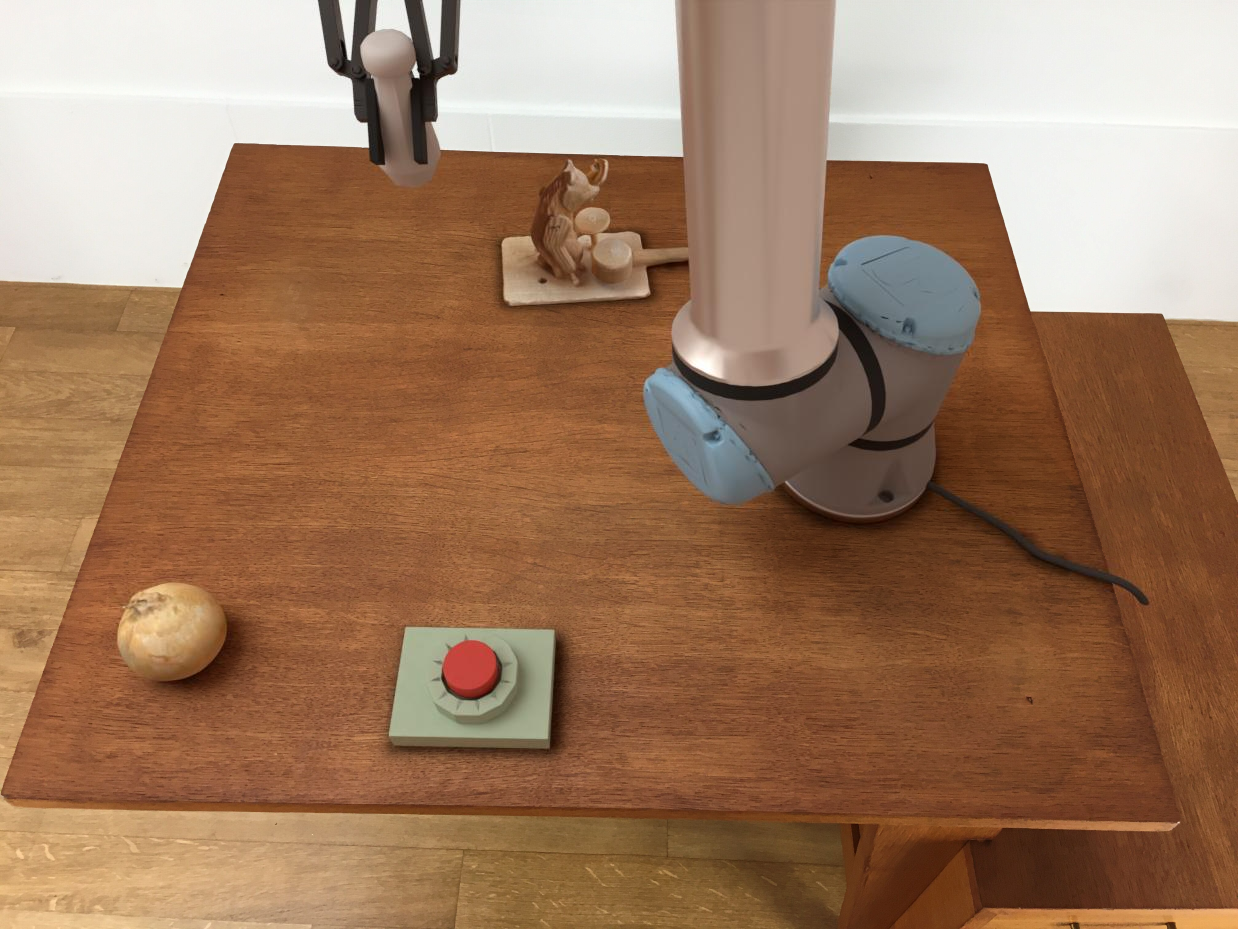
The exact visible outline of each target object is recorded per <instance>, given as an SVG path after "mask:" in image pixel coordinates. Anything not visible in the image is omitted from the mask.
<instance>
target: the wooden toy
mask: <svg viewBox="0 0 1238 929" xmlns="http://www.w3.org/2000/svg"><path fill="white" fill-rule="evenodd" d="M608 172H609V162H608V160H607V159H605V158H597V159H596V158H594V159H593V160H592V163H591V165H589V166H588V167H587V168H586V169H585V170H584V171H582V170H580V169H579V168H577V167H575V166H574V163H573V161H572V159H569V158H567V159H566V160H565V162H564V164H563V166H562V168H561V169H560V170H559V171H558V172H557V173H556V175H555V176H554V177H553V178H552V179H551V180H550V182H549V183H548V184H544V185H543V186H542V187H541V188H540V189H539V191H538V196H539V200H538V204H537V206H536V210H535V213H534V217H533V219H532V223H531V226H530V230H529V231H530V232H529V233H530V234H529V235H526V236H510V237H505V238H504V239H503V240H502V241H501V244H500V245H501V246H500V247H501V248H500V251H501V268H502V273H501V274H502V298H503V303H504V304H506V305H507V306H510V307H515V306H516V307H517V306H533V305H535V306H536V305H552V304H553V305H554V304H567V303H568V304H569V303H570V304H572V303H585V302H586V303H588V302H603V301H604V302H606V301H620V300H639V299H640V300H641V299H645V298H648V297H649V296H651V290H650V284H649V278H648V272H647V268H648V267H651V266H658V265H664V264H667V263H676V262H677V263H683V262H689V254H688V246H680V247H679V246H678V247H664V248H662V247H660V248H643V245H642V241H641V236H640V234H639V233H636V232H634V231H620V232H605V231H607V229H608V228H609V226H610V223H611V216H610V214H609V213H608V212H607V211H606V209H603V208H601V207H595V206H589V207H585V208H583V209H581V210H580V211H578V210H579V208H580V207H581V206H582V205H583V204H584V203H588V204H589V203H593V202H594V199H595V197H597V196H598V194H599V192H600V186H601V185H602V184H603V183H605V182H606V180H607V177H608V174H609V173H608ZM576 211H578V212H577V214H576V215H575V217H574V212H576Z"/></svg>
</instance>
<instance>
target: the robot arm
mask: <svg viewBox="0 0 1238 929" xmlns="http://www.w3.org/2000/svg"><path fill="white" fill-rule="evenodd" d="M378 1H379V0H355V3H354V14H353V15H354V16H353V27H352V28H353V29H352V41H351V42H352V43H351V52H350V53H351V54H350V59H349V56H348V50H347V45H346V39H345V38H346V37H345V32H344V24H343V19H342V12H341V6H340V5H341V4H340V0H317V4H318V10H319V11H318V12H319V17H320V24H321V31H322V37H323V44H324V49H325V55H326V62H327V65H328V67H329V68H330V69H331V70H332V71H333V72H334V73H335V74H336V75H338V76H340V77H345V78H347V79H350V81H351V85H352V86H351V87H352V100H353V114H354V116H355V118H356V121H357V122H359V123H360V124H367V138H368V141H367V142H368V156H369V162H370V163H372V164H374V165H375V166H378V165H385V151H384V145H383V140H382V134H381V127H380V120H379V113H378V106H377V100H376V93H375V84H374V78H372V75H371V74H370V73H369V72H368V71H367V70H366V69H365V67H364V64H363V61H362V57H361V47H360V46H361V44H362V42H363V41H364V39H365V38H366V37H367V36H368V35H369V34H371V33H373V32H374V31H376V25H377V24H376V23H377V13H378ZM403 1H404V7H405V11H406V17H407V22H408V26H409V33H410V36H411V37H410V38H411V40H412V43H413V45H414V49H415V54H416V63H415V64H416V71H417V73H418V77H415V78H411V81H412V88H411V89H410V100H411V118H412V136H413V154H414V161H415V162H417V163H418V164H419V165H427V164H428V155H427V135H426V127H425V122H431V123H436V122H437V120H438V117H439V110H438V109H439V106H438V105H439V104H438V82H439V81H440V80H441V79H442V78H444V77H447V76H452V75H453V76H454V75H456V73H457V72H458V69H459V52H460V51H459V49H460V27H461V25H460V24H461V3H462V1H461V0H441V9H440V36H439V56H438V57H436V58H434V53H433V47H432V43H431V37H430V32H429V27H428V22H427V16H426V10H425V7H424V2H423V0H403ZM836 10H837V0H674V13H675V27H676V28H675V29H676V30H675V32H676V45H677V46H676V49H677V50H676V51H677V66H678V67H677V68H678V70H677V71H678V86H679V103H680V104H679V107H680V122H681V125H680V126H681V142H682V159H683V180H684V196H685V212H686V213H685V214H686V217H685V218H686V232H687V234H686V235H687V247H688V254H689V261H688V270H689V288H690V289H689V292H690V299H689V300H688V301H687V302H686V303H684V304H683V306H682V307H681V308H680V309H679V310H678V312H677V314H676V315H675V317H674V319H673V321H672V325H671V330H670V331H671V332H670V333H671V337H670V338H671V351H672V352H671V353H672V362H671V364H669V365H668V366H666V367H658V368H657V369H656V370H655V371H654V373H653V374H651V375H650V376H649V377H647V378H646V380H645V382H644V384H643V388H642V389H643V390H642V396H643V402H644V407H645V409H646V413H647V416H648V419H649V421H650V423H651V426H652V428H653V430H654V432H655V434H656V435H657V437H658V439H659V441H660V442H661V444H662V446H663V448H664V449H665V451H666V453H667V454H668V456H669V457H670V459H671V460H672V461H673V463H674V464H675V465H676V467H677V468H678V469H679V471H680V472H681V473H682V475H684V476H685V477H686V479H687V480H688V482H690V483H691V484H692V485H693V486H694V487H695V488H696V489H697V490H698V491H699V492H700V493H702V494H703V495H704V496H705V497H707V498H709V499H710V500H712V501H714V502H716V503H717V504H721V505H724V506H739V505H742V504H745V503H747V502H749V501H751V500H752V499H755V498H757V497H759V496H761V495H762V494H763V495H764V494H770V493H772V492H773V491H775V489H776V488H777V487H778V486H780V487H781V488H782V489H783V490H784V491H785V493H786V494H788V496H789V497H791V498H792V499H793V500H794V501H795V502H797V504H799V505H801V506H802V507H804V508H805V509H807V510H809V511H811V512H813V513H814V514H816V515H819V516H822V517H824V518H827V519H830V520H833V521H838V522H842V523H850V524H871V523H878V522H882V521H883V522H884V521H886V520H889V519H892V518H895V517H897V516H899V515H901V514H903V513H904V512H906V511H907V510H910V508H912V507H913V506H914V505H915V504H916V503H917V502H919V500H920V499H921V497H922V496H923V494H924V493H925V491H926V489H927V490H929V491H930V492H933V493H935V494H936V495H938V496H940V497H942V498H944V499H945V500H946V501H949V502H951V503H952V504H954V505H956V506H958V507H959V508H961V509H963V510H965V511H966V512H968V513H969V514H972V515H973V516H975V517H977V518H979V519H981V520H983V521H984V522H987V523H989V524H990V525H992V526H994V527H995V528H996V529H999V530H1000V531H1002V532H1004V533H1005V534H1006V535H1008V536H1009V537H1011V538H1012V539H1013V540H1015V542H1016V543H1017V544H1019V545H1020V546H1021V547H1022V548H1023V549H1025V550H1026V551H1027V552H1028V553H1030V554H1031V555H1033V556H1034V557H1036V558H1038V559H1040V560H1042V561H1045V562H1047V563H1050V564H1052V565H1055V566H1058V567H1061V568H1064V569H1066V570H1069V571H1071V572H1075V573H1078V574H1081V575H1084V576H1086V577H1090V578H1094V579H1097V580H1100V581H1104V582H1107V583H1111V584H1113V585H1116V586H1118V587H1120V588H1122V589H1124V590H1126V591H1127V592H1129V593H1130V594H1131V595H1133V596H1134V597H1135V599H1136V600H1137V601H1138V602H1139V604H1141V605H1143V606H1149V605H1150V601H1149V599H1148V598H1147V595H1145V593H1144V592H1143V591H1142V590H1141V589H1140V588H1138V587H1137V586H1136V585H1135V584H1133V583H1132V582H1130V581H1129V580H1127V579H1124V578H1122V577H1120V576H1117V575H1114V574H1111V573H1109V572H1106V571H1102V570H1099V569H1094V568H1091V567H1088V566H1084V565H1081V564H1078V563H1076V562H1074V561H1071V560H1068V559H1065V558H1063V557H1060V556H1057V555H1053V554H1052V553H1049V552H1047V551H1044V550H1043V549H1040V548H1038V547H1037V546H1036V545H1034V544H1032V542H1030V541H1029V540H1028V539H1027V538H1025V537H1024V535H1023V534H1021V533H1020V532H1019V531H1017V530H1016V529H1015V528H1014V527H1012V526H1011V525H1009V524H1008V523H1006V522H1004V521H1002V520H1001V519H1000V518H997V517H995V516H994V515H992V514H990V513H989V512H987V511H985V510H983V509H981V508H979V507H977V506H975V505H973V504H972V503H970V502H968V501H966V500H965V499H963V498H961V497H959V496H957V495H956V494H954V493H952V492H951V491H949V490H947V489H945V488H943V487H942V486H940V485H938V484H936V483H934V482H933V481H931V479H932V476H933V474H934V469H935V464H936V458H937V447H936V432H935V430H936V429H935V419H936V417H937V415H938V413H939V411H940V410H941V407H942V405H943V402H944V400H945V398H946V396H947V394H948V392H949V390H950V387H951V385H952V384H953V381H954V379H955V377H956V374H957V372H958V371H959V369H960V366H961V364H962V362H963V361H964V357H965V356H966V354H967V351H968V349H970V348H971V346H972V345H973V342H974V339H975V337H976V336H975V335H976V334H975V333H976V328H977V325H978V323H979V320H980V317H981V314H982V313H981V312H982V306H981V294H980V291H979V288H978V286H977V284H976V282H975V281H974V279H973V278H972V276H971V275H970V273H969V272H968V271H967V270H966V268H964V267H963V265H961V264H960V263H959V262H958V261H957V260H955V259H954V258H953V257H952V256H950V255H949V254H947V253H946V252H944V251H942V250H941V249H939V248H937V247H934V246H933V245H930V244H928V243H926V242H923V241H921V240H914V239H910V238H907V237H904V236H899V235H898V236H897V235H891V234H890V235H887V234H886V235H885V234H883V235H880V234H879V235H871V236H866V237H862V238H859V239H856V240H854V241H851V242H850V243H848V244H847V245H845V246H844V247H843V248H842V249H841V250H840V251H839V252H838V253H837V255H836V256H835V258H834V260H833V262H831V263H830V265H829V269H828V271H827V277H826V278H827V282H826V284H825V285H824V286H823V287H822V288H820V279H821V278H820V277H821V275H820V274H821V262H822V259H821V258H822V245H823V229H824V228H823V226H824V212H825V196H826V195H825V194H826V177H827V161H828V160H827V159H828V143H829V129H830V128H829V126H830V111H831V110H830V109H831V94H832V79H833V78H832V77H833V60H834V46H835V45H834V44H835V26H836V12H837V11H836Z"/></svg>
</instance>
